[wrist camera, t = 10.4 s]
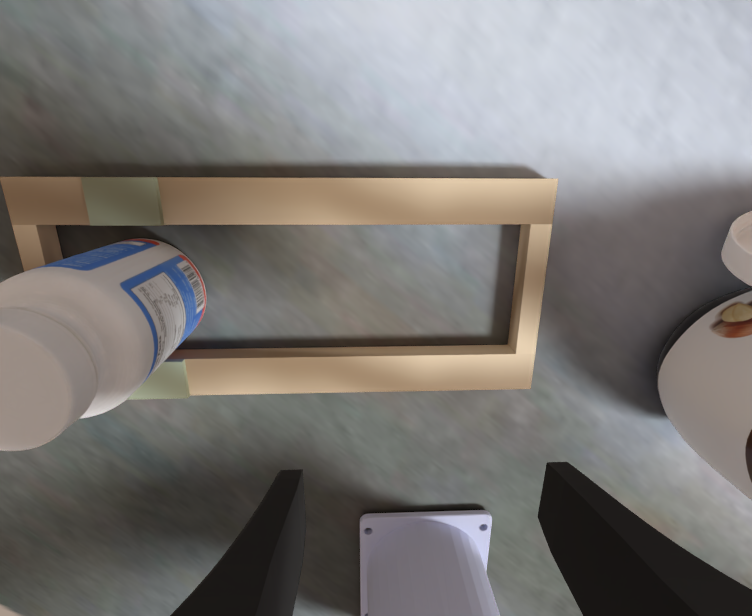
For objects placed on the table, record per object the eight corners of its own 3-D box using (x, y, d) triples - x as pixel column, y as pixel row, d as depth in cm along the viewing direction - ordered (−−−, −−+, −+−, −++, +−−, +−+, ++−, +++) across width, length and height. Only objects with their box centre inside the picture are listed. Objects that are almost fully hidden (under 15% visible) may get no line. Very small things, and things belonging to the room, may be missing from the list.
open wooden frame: (521, 378, 23) (532, 391, 22) (72, 386, 22) (53, 400, 20) (546, 178, 20) (561, 178, 18) (21, 176, 19) (-7, 176, 17)
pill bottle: (80, 310, 21) (-143, 421, 11) (120, 215, 19) (-97, 253, 10) (185, 360, 22) (58, 498, 13) (229, 273, 20) (123, 355, 11)
